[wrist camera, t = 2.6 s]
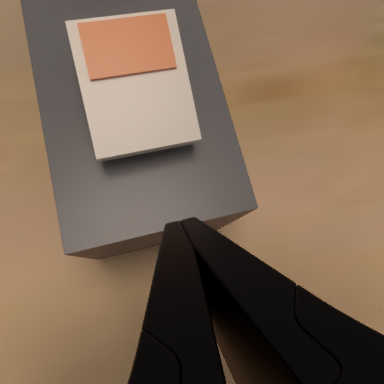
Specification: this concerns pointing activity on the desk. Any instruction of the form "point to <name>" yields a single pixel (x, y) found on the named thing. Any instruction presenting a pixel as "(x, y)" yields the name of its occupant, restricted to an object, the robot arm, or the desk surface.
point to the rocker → (134, 83)
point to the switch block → (138, 164)
